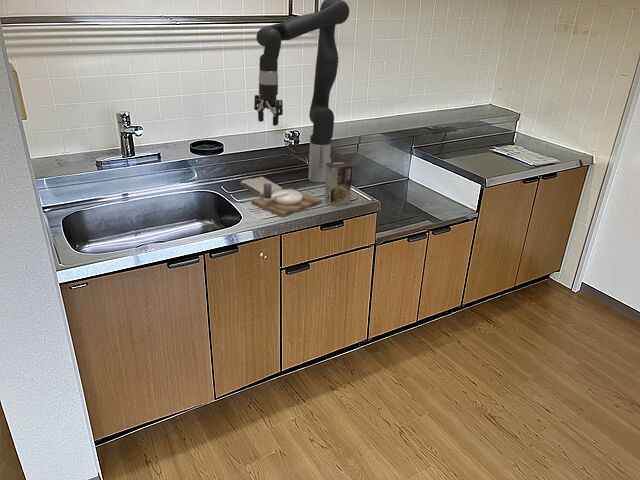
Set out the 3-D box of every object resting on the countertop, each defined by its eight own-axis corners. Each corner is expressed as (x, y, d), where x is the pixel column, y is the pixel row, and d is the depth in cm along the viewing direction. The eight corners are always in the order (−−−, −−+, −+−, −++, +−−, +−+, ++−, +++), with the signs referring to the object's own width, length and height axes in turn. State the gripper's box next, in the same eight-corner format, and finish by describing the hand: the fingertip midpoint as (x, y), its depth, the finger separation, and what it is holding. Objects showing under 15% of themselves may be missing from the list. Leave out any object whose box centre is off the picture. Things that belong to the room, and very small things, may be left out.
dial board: (290, 191, 222) (290, 187, 222) (321, 203, 212) (322, 199, 211) (251, 203, 207) (251, 199, 207) (283, 217, 197) (283, 213, 196)
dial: (288, 192, 216) (289, 173, 213) (308, 200, 209) (309, 181, 205) (254, 201, 205) (254, 181, 202) (274, 210, 198) (274, 190, 194)
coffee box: (344, 198, 218) (346, 161, 211) (350, 203, 213) (353, 165, 206) (323, 200, 215) (326, 162, 208) (329, 205, 210) (332, 167, 203)
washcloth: (261, 181, 234) (261, 174, 233) (284, 193, 222) (284, 186, 220) (238, 185, 227) (238, 178, 226) (260, 198, 215) (260, 191, 213)
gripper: (249, 80, 207) (249, 121, 214) (273, 85, 198) (273, 128, 205) (263, 79, 212) (263, 119, 219) (287, 84, 204) (287, 125, 211)
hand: (268, 123), depth 212 cm, fingers open, 8 cm apart
